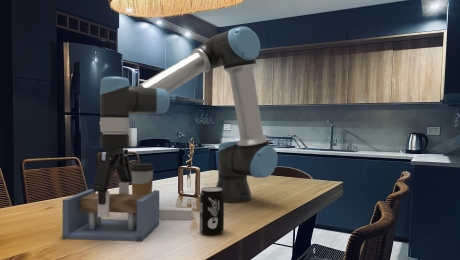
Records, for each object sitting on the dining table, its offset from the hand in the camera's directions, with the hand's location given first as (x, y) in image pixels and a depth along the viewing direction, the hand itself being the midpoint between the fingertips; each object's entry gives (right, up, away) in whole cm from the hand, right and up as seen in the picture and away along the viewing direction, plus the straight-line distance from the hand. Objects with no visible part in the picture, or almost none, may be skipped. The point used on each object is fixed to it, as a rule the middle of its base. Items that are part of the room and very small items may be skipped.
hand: (114, 210), depth 93 cm
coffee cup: (-1, -6, +32) cm, 33 cm away
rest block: (+15, -6, +13) cm, 21 cm away
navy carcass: (0, -6, 0) cm, 6 cm away
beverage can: (+27, -6, -1) cm, 28 cm away
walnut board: (0, 0, 0) cm, 0 cm away
